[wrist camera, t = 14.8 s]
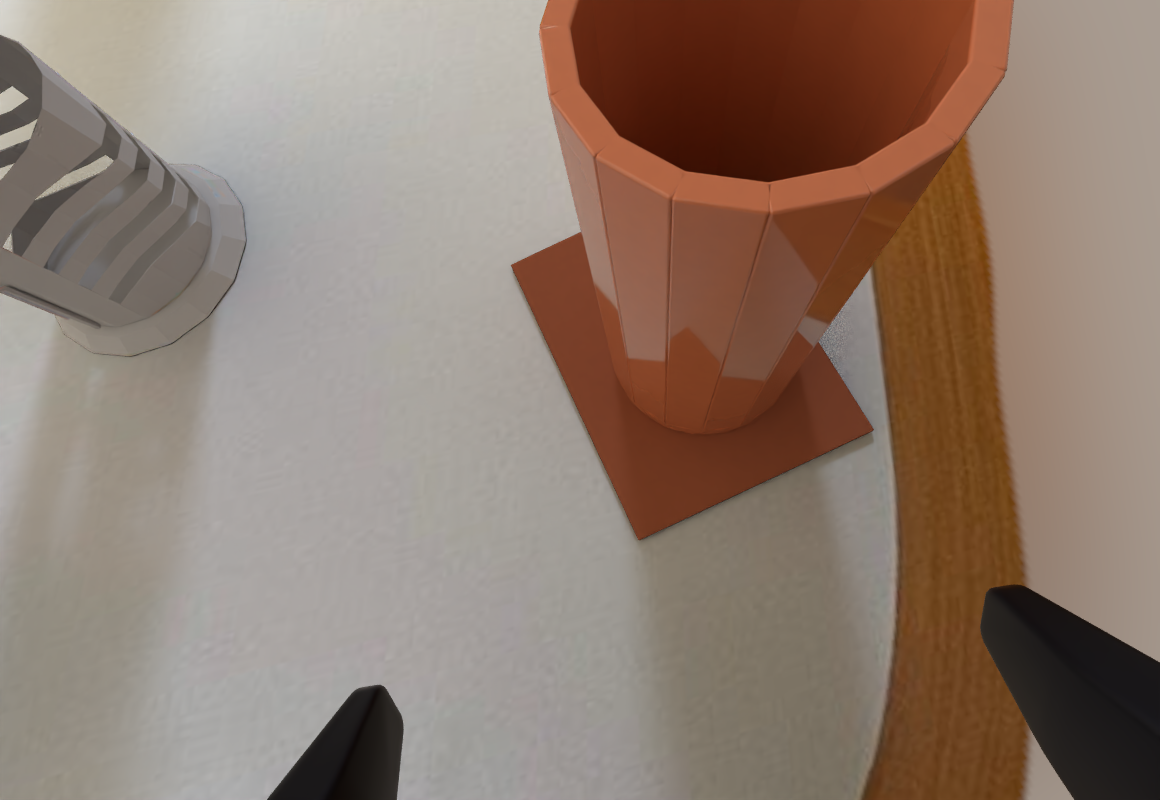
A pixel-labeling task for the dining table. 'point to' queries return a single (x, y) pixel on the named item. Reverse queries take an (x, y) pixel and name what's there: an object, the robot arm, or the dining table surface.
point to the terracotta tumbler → (750, 171)
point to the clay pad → (657, 453)
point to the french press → (107, 222)
